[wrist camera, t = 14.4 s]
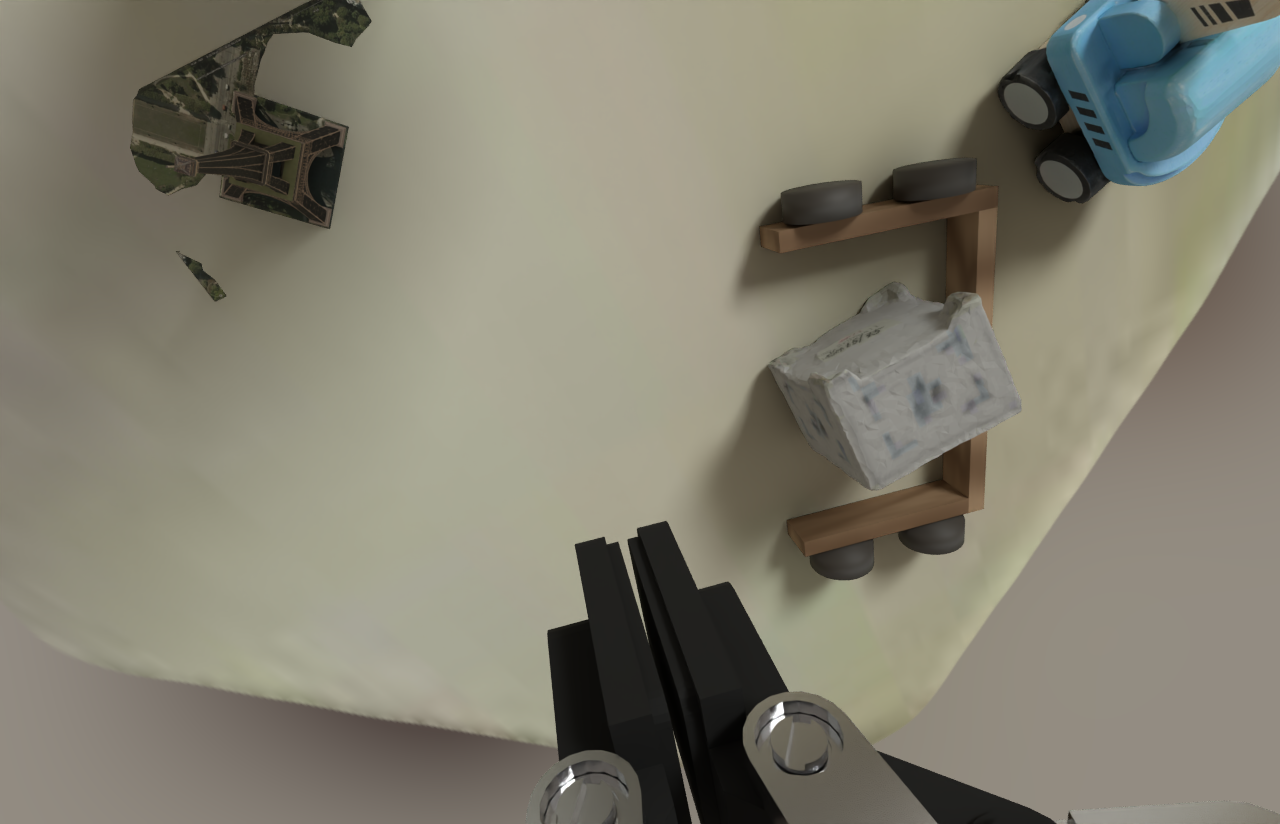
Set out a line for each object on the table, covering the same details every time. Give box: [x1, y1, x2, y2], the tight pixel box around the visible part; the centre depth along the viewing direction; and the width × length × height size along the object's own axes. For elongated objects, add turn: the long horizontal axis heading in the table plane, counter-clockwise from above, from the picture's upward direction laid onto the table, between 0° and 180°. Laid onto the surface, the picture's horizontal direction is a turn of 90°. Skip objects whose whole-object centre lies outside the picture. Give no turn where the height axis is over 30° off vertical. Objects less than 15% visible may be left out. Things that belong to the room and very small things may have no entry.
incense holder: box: [768, 282, 1021, 490], centre depth 39 cm, size 10×8×10 cm
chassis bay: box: [759, 158, 998, 580], centre depth 42 cm, size 26×14×4 cm, turn 10°
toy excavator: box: [998, 0, 1280, 203], centre depth 31 cm, size 9×17×17 cm, turn 42°
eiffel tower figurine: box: [130, 0, 371, 301], centre depth 28 cm, size 15×10×13 cm
